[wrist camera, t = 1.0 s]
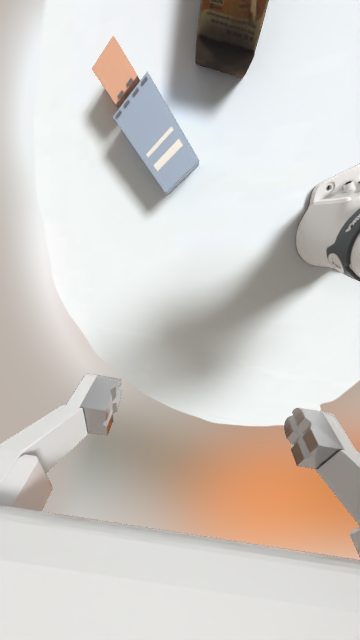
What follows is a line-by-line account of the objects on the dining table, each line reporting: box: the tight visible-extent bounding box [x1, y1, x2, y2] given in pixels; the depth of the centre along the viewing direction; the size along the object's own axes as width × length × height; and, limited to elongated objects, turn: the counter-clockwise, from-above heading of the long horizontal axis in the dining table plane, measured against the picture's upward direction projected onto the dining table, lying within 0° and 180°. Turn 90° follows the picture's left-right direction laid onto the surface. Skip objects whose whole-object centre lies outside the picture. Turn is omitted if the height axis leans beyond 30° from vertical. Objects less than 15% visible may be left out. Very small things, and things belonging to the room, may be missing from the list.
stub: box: [92, 36, 140, 108], centre depth 29 cm, size 4×4×5 cm
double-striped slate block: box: [113, 72, 199, 194], centre depth 32 cm, size 7×12×5 cm, turn 38°
